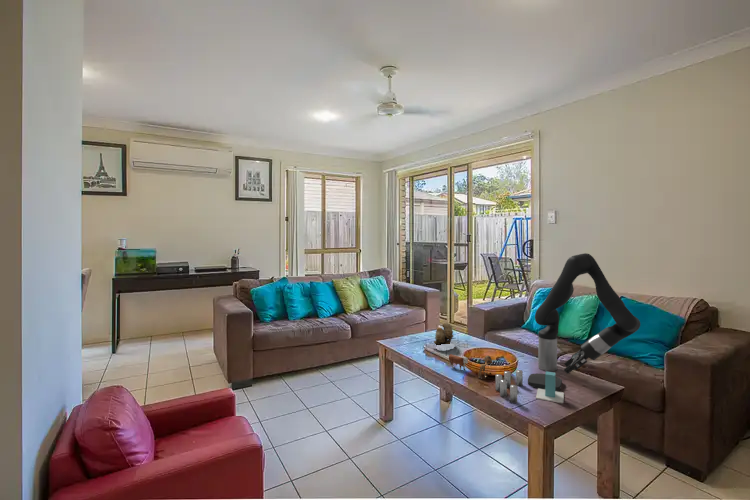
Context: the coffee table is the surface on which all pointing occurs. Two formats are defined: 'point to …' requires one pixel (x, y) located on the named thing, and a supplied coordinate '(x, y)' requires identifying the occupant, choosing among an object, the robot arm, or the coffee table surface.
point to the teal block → (550, 384)
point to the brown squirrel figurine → (444, 334)
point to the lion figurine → (487, 361)
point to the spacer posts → (509, 384)
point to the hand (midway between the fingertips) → (565, 368)
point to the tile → (558, 397)
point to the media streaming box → (542, 381)
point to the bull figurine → (458, 360)
